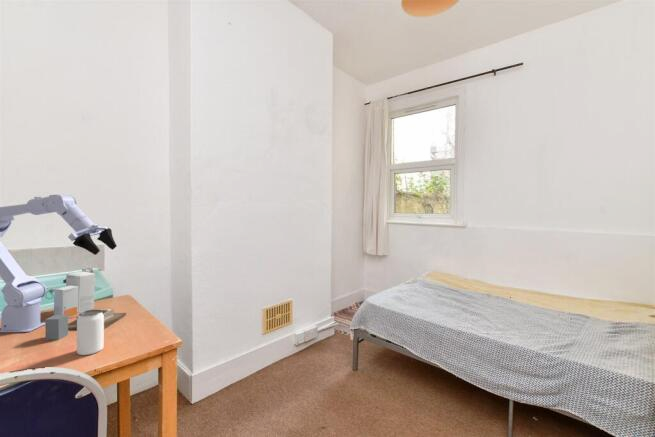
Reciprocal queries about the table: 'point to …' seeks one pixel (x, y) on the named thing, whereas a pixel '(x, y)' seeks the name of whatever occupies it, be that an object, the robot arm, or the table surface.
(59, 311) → the skincare box
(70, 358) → the table surface
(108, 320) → the socket board
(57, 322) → the grey peg
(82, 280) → the skincare box
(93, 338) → the can
